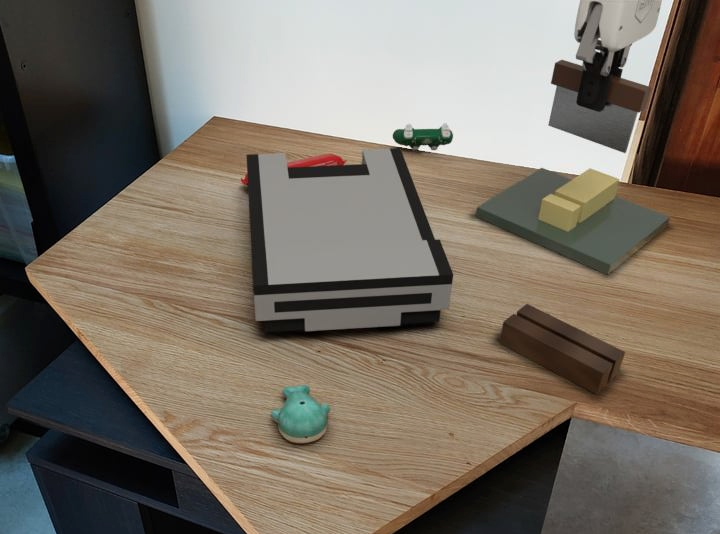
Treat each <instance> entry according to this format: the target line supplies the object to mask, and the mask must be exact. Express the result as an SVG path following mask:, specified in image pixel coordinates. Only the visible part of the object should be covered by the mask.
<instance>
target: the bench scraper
mask: <svg viewBox="0 0 720 534" xmlns="http://www.w3.org/2000/svg"><path fill="white" fill-rule="evenodd" d="M582 73H583V70H582V64H578V63H575V62H571V61H568V60H565V59H560V60H558V61H556V62H554V66H553V71H552V75H551V80H550V84H551V85H554V86H556V87H555V92H554V97H553V101H552V105H551V111H550V115H549V121H548V125H547V126H549V127H552V128H553V129H557V130H560V131H563V132H565V133H568V134H571V135H572V136H576V137H579V138H582V139H585V140H587V141H589V142H592V143H595V144H598V145H600V146H604V147H606V148H609V149H612V150H615V151H618V152H620V153H623V154H626V153H627V152H628V148H629V144H630V141H631V137H632V134H633V131H634V127H635V123H636V120H637V116H638V113H641V112H643V111H645V110H646V108H647V105H648V103H649V102H648V101H649V98H650V95H651V91H652V86H649V85H646V84H642V83H639V82H636V81H634V80H630V79H627V78H624V77H621V78H620V77H617V76H614V75H612V79H611V83H610V87H609V91H608V96H607V100H606V104H605V108H604V110H602V111H601V112H597V111H594V110H591V109H588V108H585V107H582V106H579V105H577V103H576V101H577V96H578V91H579V87H580V82H581V78H582Z"/></svg>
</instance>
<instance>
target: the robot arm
mask: <svg viewBox="0 0 720 534" xmlns="http://www.w3.org/2000/svg"><path fill="white" fill-rule="evenodd" d="M662 2H663V0H579V4H578V9H577V14H576V20H575V24H574V33H573V35H574V36H573V37H574V40H575V41H576V42H577V43H578V44H579V45H578V48H577V51H576V54H575V59H576V60H579V61H582V63H581V66H582V70H583V73H582V78H581V82H580V87H579V91H578V96H577V101H576V103H577V105H579V106H582V107H585V108H588V109H591V110H594V111H597V112H601V111H602V110H604V108H605V104H606V100H607V96H608V91H609V87H610V83H611V79H612V75H614V76H617V77H620V78H622V74H623V70H624V69H623V68H624V67H625V66H626V64H627V61H628V57H629V53H630V49H631V47H632V45H633V44H635V42H637V41H639V40H642V39H643V38H645V37H647V36H648V35H650V34H652V33H653V31H654V30H655V28H656V26H657V24H658V20H659V15H660V10H661V6H662Z"/></svg>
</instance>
